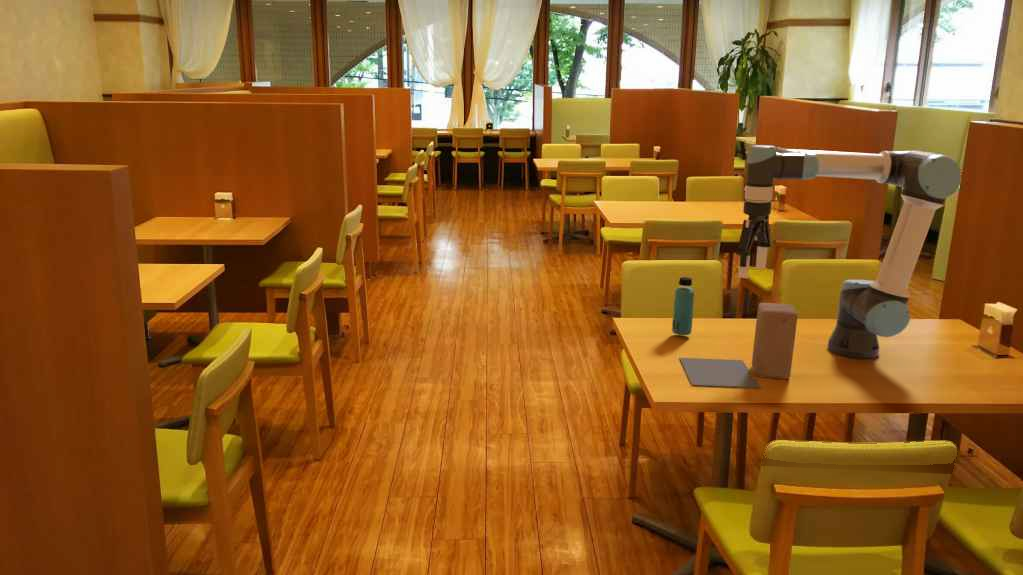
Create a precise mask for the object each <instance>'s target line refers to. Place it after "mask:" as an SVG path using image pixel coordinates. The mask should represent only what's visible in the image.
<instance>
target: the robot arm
mask: <svg viewBox="0 0 1023 575" xmlns="http://www.w3.org/2000/svg"><path fill="white" fill-rule="evenodd" d="M745 171H746V172H745V173H746V176H745V186H744V188H743V191H744V199H745V200H744V202H743V211H742V212H743V214H744V215H746V216H747V215H748V217H747V219H743V222H742V230H741V233H740V238H739V241H738V245H737V249H736V255H737V256H739V259H738V260H739V262H738V272H737V273H738V275H737V277H738V278H742V279H749V272H750V261H751V255H750V251H751V249H752V246H753V243H754V241H755V238H756V240H757V244H758V246H757V247H756V258H755V259H756V260H755V269H757V270H766V268H767V267H766V264H767V256H768V255H767V253H768V248H771V246H772V245H771V244H772V243H771V232H770V221H769V220H770V215H771V213H772V212H771V211H772V201H771V200H773V192H774V181H775V180H777V181H778V180H793V181H794V180H798V181H799V180H800V181H804V180H813V179H815V178H816V177H827V178H829V177H830V178H845V179H859V180H873V181H874V180H875V181H876V183H879V184H887V185H893V186H896V187H900V188H902V189H901V193H900V197H901V198H902V201H903V204H902V207H901V210H900V212H899V216H898V217H897V221H896V224H895V227H894V228H893V229H894V230H893V232H892V235H891V237H890V241H889V243H888V246H887V249H886V251H885V254H884V258H883V260H882V264H881V266H880V270H879V272H878V275H877V278H876V280H871V279H870V280H868V279H846V280H844V281H843V282H842V284H841V287H840V290H839V292H840V293H839V303H838V310H837V311H838V312H837V316H836V317H837V318H836V325H835V327H834V329H833V331H832V332H831V334H830V337H829V339H828V342H827V349H828V350H829V351H830V352H832V353H833V354H836V355H839V356H843V357H847V358H852V359H874V358H876V357H878V356H879V353H880V344H879V340H878V337H882V338H889V337H890V338H891V337H895V336H896V335H899V334H901V333H902V332H903V331H904V330H905V329H906V328H907V327H908V325H909V323H910V320H911V312H910V309H909V307H908V304H909V301H910V298H911V295H910V293H909V291H908V286H909V285H910V281H911V279H912V276H913V273H914V270H915V267H916V266H917V262H918V260H919V257H920V255H921V253H922V252H921V251H922V248H923V245H924V242H925V241H926V237H927V235H928V232H929V230H930V226H931V224H932V222H933V219H934V216H935V213H936V211H937V210H938V209H940V208H942V207H944V206H945V203H946V200H947V198H948V197H951V196H952V195H953V194H955V193H956V192H957V191H958V189H959V188H960V185H961V183H962V176H963V174H962V170H961V167H960V166H959V163H958V162H957V161H956V160H955V159H953V158H952V157H950V156H947V155H945V154H942V153H937V152H936V153H935V152H929V151H923V150H917V149H916V150H898V151H897V150H896V151H895V150H892V151H891V150H882V151H881V152H879V153H870V152H869V153H867V152H852V151H851V152H849V151H832V150H814V149H813V150H810V149H801V148H800V149H796V148H783V147H779V146H778V147H776V146H774V145H770V144H769V145H764V144H759V145H758V144H755V145H751V146H750V147H749V148H748V151H747V158H746V170H745Z"/></svg>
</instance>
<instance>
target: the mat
mask: <svg viewBox="0 0 1023 575" xmlns="http://www.w3.org/2000/svg"><path fill="white" fill-rule="evenodd" d="M678 359H679V362H680V364H681V366H682V368H683V371H684V372H685V374H686V376H687V379H688V381H689V384H690V385H691V386H692V387H709V388H731V389H732V388H734V389H735V388H736V389H754V390H755V389H757V390H758V389H759V390H761V389H762V387H761V385H760V384H759V382H758V381H757V380H756V378H755V375H753V373H752V372H751V371H750V369H749V368H748V366H747V365H746V363H745V361H744V360H742V359H724V358H723V359H722V358H721V359H719V358H698V357H697V358H696V357H695V358H694V357H679V358H678Z"/></svg>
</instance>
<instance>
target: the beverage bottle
mask: <svg viewBox="0 0 1023 575" xmlns="http://www.w3.org/2000/svg"><path fill="white" fill-rule="evenodd" d="M678 285H680V286H678V287H677V288H676V289H675V290H674V301H673V313H672V314H673V315H672V323H671V325H672V327H671V331H672V333H673V334H675V335H678V336H690V335H691V334H692V332H693V331H692V329H693V315H694V301H695V300H694V299H695V294H696V293H695V290H694V289H693V288H692V287H690V286H692V285H693V279H692V278H691V277H687V276H682V277H680V278H679V279H678Z"/></svg>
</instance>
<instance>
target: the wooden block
mask: <svg viewBox="0 0 1023 575" xmlns="http://www.w3.org/2000/svg"><path fill="white" fill-rule="evenodd" d="M756 314H757V315H756V323H755V331H754V332H755V333H754V341H753V349H752V350H753V351H752V359H751V366H752V370H753V374H754V377H755V376H756V377H760V378H769V379H781V380H787V379H790V377H791V375H792V374H791V372H792V365H793V364H792V363H793V356H794V349H795V339H796V331H797V324H798V313H797V311H796V309H795V306H794V305H793V304H786V303H775V302H774V303H773V302H764V301H763V302H759V303H758V306H757V313H756Z"/></svg>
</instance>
